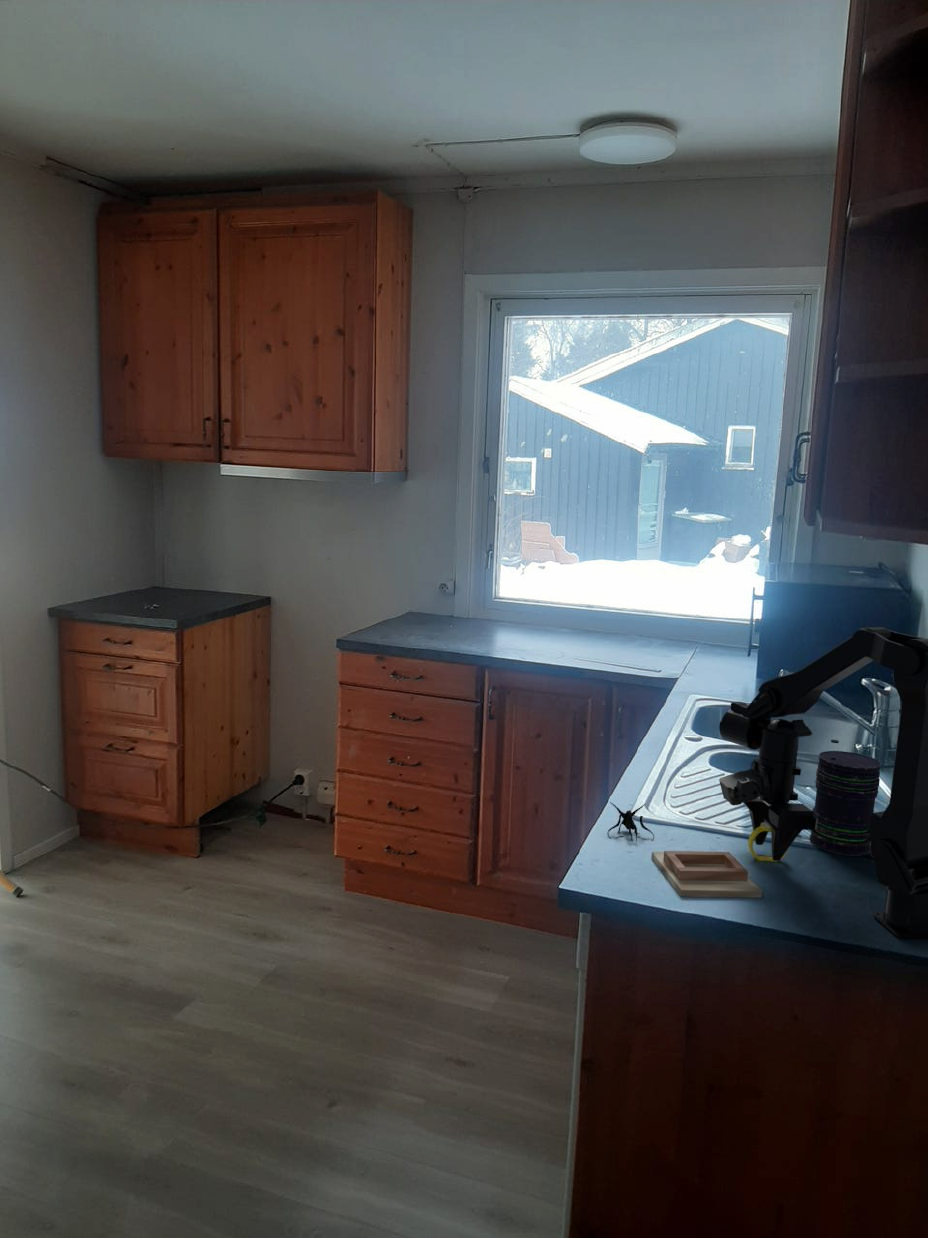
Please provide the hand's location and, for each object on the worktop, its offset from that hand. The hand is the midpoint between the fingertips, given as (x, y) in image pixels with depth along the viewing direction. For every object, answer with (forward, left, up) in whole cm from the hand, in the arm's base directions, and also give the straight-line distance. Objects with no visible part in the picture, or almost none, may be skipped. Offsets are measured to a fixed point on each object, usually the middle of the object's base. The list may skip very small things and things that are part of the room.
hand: (767, 852), depth 150 cm
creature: (+9, +20, -2) cm, 22 cm away
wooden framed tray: (-7, +13, -1) cm, 15 cm away
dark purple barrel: (+7, -16, -1) cm, 18 cm away
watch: (0, 0, -2) cm, 2 cm away
